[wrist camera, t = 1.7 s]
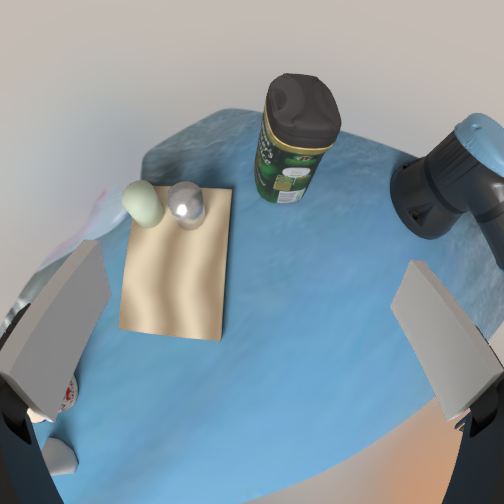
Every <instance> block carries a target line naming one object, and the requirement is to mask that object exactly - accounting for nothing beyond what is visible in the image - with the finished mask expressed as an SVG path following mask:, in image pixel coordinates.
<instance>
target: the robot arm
mask: <svg viewBox="0 0 504 504" xmlns="http://www.w3.org/2000/svg"><path fill="white" fill-rule="evenodd" d="M390 192H391V198H392V202H393V205H394V207H395V210H396V212H397V214H398V216H399V217H400V219H401V220H402V222H403V223H404V224H405V225H406V226H407V228H408V229H409V230H411V231H412V232H413V233H414V234H416V235H417V236H419V237H421V238H424V239H429V240H432V239H436V238H439V237H441V236H443V235H444V234H446V233H447V232H448V231H449V230H450V229H451V227H452V226H453V225H454V224H455V223H456V221H457V220H458V219H459V217H460V216H461V215H462V214H463V213H465V212H467V211H469V210H470V211H471V212H472V214H473V216H474V217H475V219H476V221H477V223H478V225H479V227H480V228H481V230H482V232H483V234H484V236H485V238H486V240H487V242H488V244H489V246H490V248H491V250H492V253H493V255H494V257H495V260H496V263H497V266H498V267H499V269H500V270H501V271H502V274H503V276H504V128H503V127H502V126H500V124H498V123H497V122H496V121H495V120H493V119H492V118H490V117H488V116H487V115H484V114H481V113H474V114H471V115H469V116H468V117H467V118H466V119H465V120H464V121H463V122H461V123H459V124H457V125H456V126H455V129H454V130H453V132H451V133H450V134H449V135H448V136H447V137H446V138H445V139H444V140H443V141H442V142H441V143H440V144H439V145H438V146H436V147H435V148H434V149H433V150H432V151H431V152H430V153H429V154H428V155H427V156H425V157H422V158H419V159H416V160H413V161H410V162H407V163H405V164H403V165H402V166H401V167H400V168H399V169H398V170H397V171H396V172H395V173H394V174H393V176H392V179H391V184H390ZM111 295H112V294H111V290H110V287H109V283H108V279H107V274H106V270H105V266H104V261H103V256H102V252H101V247H100V241H98V240H84V241H83V242H82V243H81V244H80V245H79V246H78V247H77V248H76V249H75V250H74V252H73V253H72V254H71V255H70V256H69V257H68V258H67V260H66V261H65V262H64V263H63V264H62V265H61V267H60V268H59V269H58V270H57V271H56V273H55V274H54V275H53V276H52V278H51V279H50V280H49V281H48V283H47V284H46V285H45V286H44V288H43V289H42V290H41V292H40V293H39V294H38V296H37V297H36V298H35V300H34V301H33V302H32V304H30V303H29V304H27V305H26V306H25V307H24V308H22V309H21V310H20V311H19V312H18V313H17V315H16V316H15V317H14V319H13V320H12V324H10V325H9V326H8V328H7V329H6V333H5V332H4V334H3V335H2V337H1V338H0V504H64V502H63V501H62V499H61V497H60V495H59V493H58V491H57V489H56V486H55V484H54V482H53V480H52V478H51V475H50V473H49V471H48V468H47V466H46V463H45V461H44V458H43V456H42V453H41V450H40V447H39V445H38V442H37V439H36V435H35V432H34V429H33V426H32V422H31V419H30V417H29V415H28V414H27V411H28V408H30V409H31V410H32V411H33V412H34V413H35V414H36V415H37V416H39V417H41V418H43V419H46V420H48V421H50V422H53V423H55V420H56V418H57V415H58V412H59V409H60V406H61V404H62V401H63V398H64V396H65V393H66V391H67V388H68V386H69V383H70V381H71V378H72V376H73V373H74V371H75V369H76V366H77V364H78V362H79V360H80V357H81V355H82V353H83V351H84V348H85V346H86V344H87V342H88V340H89V338H90V336H91V334H92V332H93V330H94V328H95V326H96V324H97V322H98V320H99V318H100V316H101V314H102V312H103V310H104V308H105V306H106V304H107V302H108V300H109V299H110V297H111ZM390 308H391V310H392V312H393V313H394V315H395V317H396V319H397V320H398V322H399V324H400V326H401V328H402V329H403V331H404V333H405V335H406V337H407V339H408V341H409V342H410V344H411V346H412V348H413V350H414V352H415V354H416V356H417V358H418V360H419V362H420V364H421V366H422V368H423V370H424V372H425V374H426V376H427V378H428V380H429V382H430V385H431V387H432V389H433V391H434V393H435V396H436V398H437V400H438V402H439V405H440V407H441V409H442V412H443V414H444V416H445V419H446V421H449V420H452V419H454V418H456V417H458V416H460V415H461V414H462V413H463V412H464V411H466V410H467V409H468V408H470V410H471V412H469V413H468V414H467V415H466V416H465V417H464V418H463V419H461V420H460V421H459V422H458V423H457V424H456V426H455V429H457V428H458V427H460V426H461V425H462V424H463V423H465V424H464V425H463V426H462V427H461V428H460V429H459V431H462V432H463V436H462V440H461V444H460V449H459V453H458V457H457V460H456V464H455V467H454V470H453V474H452V477H451V480H450V483H449V486H448V488H447V492H446V494H445V497H444V499H443V502H442V504H504V367H503V365H502V364H501V362H500V361H499V359H498V357H497V356H496V354H495V353H494V351H493V349H492V348H491V346H489V345H488V344H489V343H488V342H487V340H486V339H485V338H484V336H483V334H482V333H481V332H480V330H479V329H478V327H477V326H476V325H474V323H473V322H472V321H471V319H470V318H469V317H468V315H467V314H466V312H465V311H464V310H463V308H462V307H461V306H460V305H459V303H458V302H457V301H456V299H455V298H454V297H453V296H452V294H451V293H450V292H449V291H448V289H447V288H446V287H445V286H444V284H443V283H442V282H441V281H440V280H439V278H438V277H437V276H436V275H435V274H434V273H433V271H432V270H431V269H430V268H429V267H428V266H427V265H426V263H425V262H424V261H423V260H410V262H409V265H408V267H407V270H406V272H405V275H404V277H403V279H402V282H401V284H400V286H399V289H398V291H397V293H396V295H395V297H394V300H393V302H392V304H391V306H390Z"/></svg>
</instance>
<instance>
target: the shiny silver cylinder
mask: <svg viewBox="0 0 504 504" xmlns="http://www.w3.org/2000/svg"><path fill="white" fill-rule="evenodd" d="M166 201H167V205H168V207H169V209H170V211H171V213H172V215H173V217H174V220H175V222H176V224H177V225H178V226H179V227H180V228H181V229H183V230H186V231H192V230H196V229H198V228H199V227H200V226H202V224H203V223H204V221H205V218H206V212H205V207H204V201H203V196H202V191H201V189H200V188H199V186H198V185H196V184H195V183H193V182H189V181H183V182H179V183H177V184H175V185H174V186H172V187H171V188H170V190H169V191H168V194H167V198H166Z"/></svg>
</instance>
